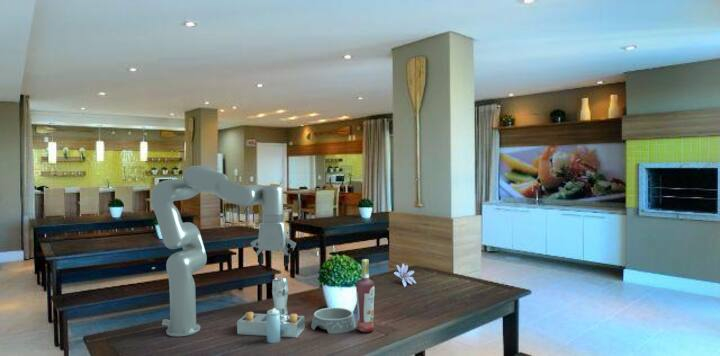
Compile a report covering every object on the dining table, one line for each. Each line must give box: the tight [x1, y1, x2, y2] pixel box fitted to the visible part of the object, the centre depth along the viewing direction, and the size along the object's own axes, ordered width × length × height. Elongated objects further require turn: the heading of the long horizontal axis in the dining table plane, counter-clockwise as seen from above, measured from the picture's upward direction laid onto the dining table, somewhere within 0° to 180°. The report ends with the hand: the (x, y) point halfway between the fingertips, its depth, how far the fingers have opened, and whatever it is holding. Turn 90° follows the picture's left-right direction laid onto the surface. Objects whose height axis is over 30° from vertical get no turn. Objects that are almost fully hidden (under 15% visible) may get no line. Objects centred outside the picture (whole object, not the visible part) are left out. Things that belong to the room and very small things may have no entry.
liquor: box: [355, 258, 376, 333], centre depth 185 cm, size 7×7×28 cm
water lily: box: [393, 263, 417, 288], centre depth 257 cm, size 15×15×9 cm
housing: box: [236, 312, 306, 338], centre depth 186 cm, size 24×10×5 cm, turn 81°
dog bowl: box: [310, 307, 357, 335], centre depth 192 cm, size 17×18×5 cm
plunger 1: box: [245, 311, 254, 321], centre depth 187 cm, size 3×3×5 cm
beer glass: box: [271, 277, 289, 315], centre depth 207 cm, size 7×7×15 cm
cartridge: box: [265, 307, 281, 344], centre depth 176 cm, size 5×5×12 cm
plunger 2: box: [288, 313, 298, 323], centre depth 184 cm, size 3×3×5 cm
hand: (273, 265), depth 175 cm, fingers open, 9 cm apart
